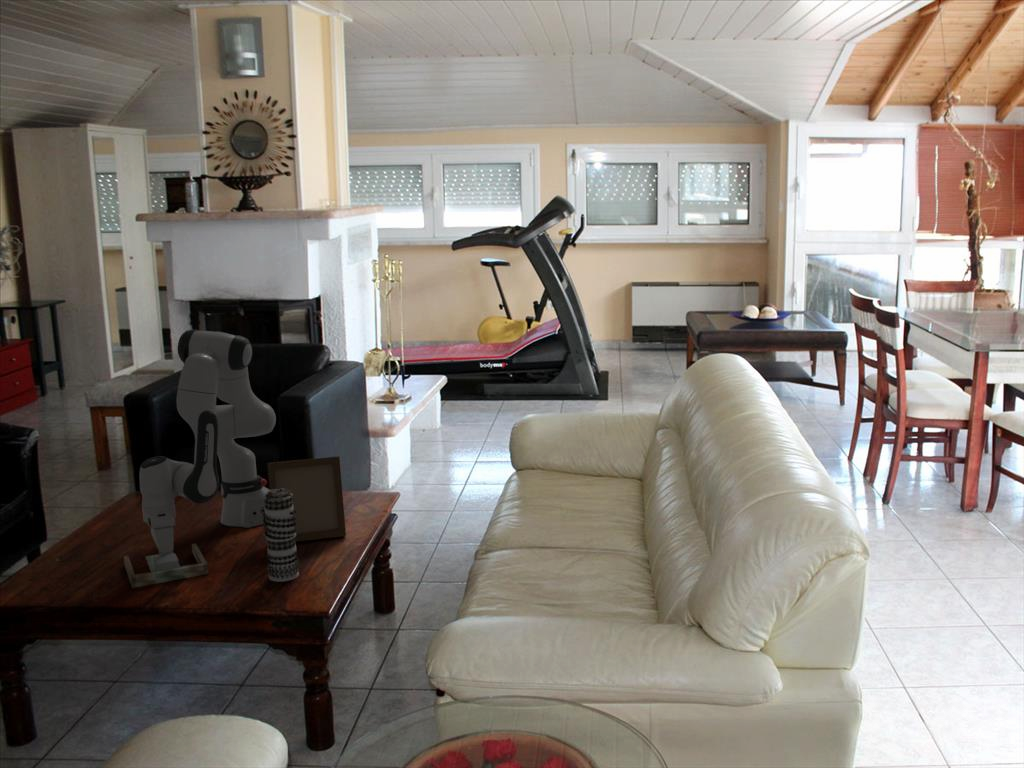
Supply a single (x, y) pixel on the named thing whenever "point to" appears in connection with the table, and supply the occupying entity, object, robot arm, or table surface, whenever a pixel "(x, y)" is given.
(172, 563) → the block
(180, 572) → the grey-green e-shaped frame
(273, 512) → the black white tall cylinder
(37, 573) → the table surface
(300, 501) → the photo frame
